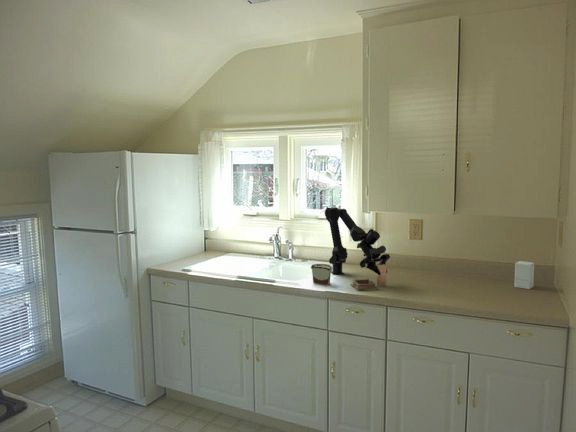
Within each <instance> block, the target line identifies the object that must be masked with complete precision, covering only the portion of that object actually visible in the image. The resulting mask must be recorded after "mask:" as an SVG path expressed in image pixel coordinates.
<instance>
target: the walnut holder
mask: <svg viewBox="0 0 576 432" xmlns="http://www.w3.org/2000/svg"><path fill="white" fill-rule="evenodd" d="M376 286H377V282H376V281H373V280H372V279H369V278H363V279H352V283H351V284H350V287H352V289H354V290H355V291H357V292H361V291H362V292H363V291H364V292H365V291H375V290H376V291H377V290H379V287H378V286H377V287H376Z"/></svg>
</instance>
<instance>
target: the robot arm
mask: <svg viewBox="0 0 576 432" xmlns="http://www.w3.org/2000/svg"><path fill="white" fill-rule="evenodd" d="M324 216H325V219H326V220H327V222H328V223H329V228H330V232H331V238H332V243H333V244H332V245H333V249H332V252H331V254H332V255H331V257H330V258H329V259H328V261H329V265H330V264H331V265H332V271H331V274H332V275H345V272H343V264H346V261H347V259H348V250H347V247H344V246H343V242H342V238H341V232H340V226H339V225H340V224H339V219H341V221H342V222H343V223H344V225H345V226H346V228H347V229H348V231H349V234H350V235H349V236H350V237H351V239H352V240H353V242H358V243H357V245H356V249H361V250H362V252H363V258H362V260H361V261H360V262H359V266H360V267H361V268H362V269H363V268H366V269H369V270H371V272H373V273H376V275H377V274H378V275H380V274H381V273H380V271H379V269H378V268H377V264H386V265H387V262H388V260H389V259H390V258H391V255H390V254H389V253H386V251H387V249H386V246H384V245H380V246H379V247H374V246H372V245H375V243H376V242H377V241H378V240H379V239H380V238H381V235H380V233H379V232H378V231H376V230H374V229H373V228H370V229H369V230H368V232H366V231H365V230H364V228H361V227H360V226H358V225H357V224H356V222H355V221H354V220H353V218H352V217H351V216H350V214H349V213H348V211H347V209H345V208H338V207H326V208H325V210H324ZM381 254H382V255H381ZM387 273H388V268H387V267H386V274H387Z"/></svg>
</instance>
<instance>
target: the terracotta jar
mask: <svg viewBox="0 0 576 432" xmlns="http://www.w3.org/2000/svg"><path fill="white" fill-rule="evenodd" d="M376 266H377V268H378V269H379V271H380V273H381V274H380V275H378V274H377V273H376V286H377V287H382V288H383V287H387V273H386V268H387V263H386V264H379V263H376Z"/></svg>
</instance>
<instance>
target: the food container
mask: <svg viewBox="0 0 576 432" xmlns="http://www.w3.org/2000/svg"><path fill="white" fill-rule="evenodd" d="M331 265H332V264H331ZM331 265H330V264H327V263H314V264H311V266H310V269H311V274H312V283H313V284H314V285H315V284H317V285H322V286H330V285H331V284H330V283H331V274H332V273H331V271H333V266H331Z"/></svg>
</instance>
